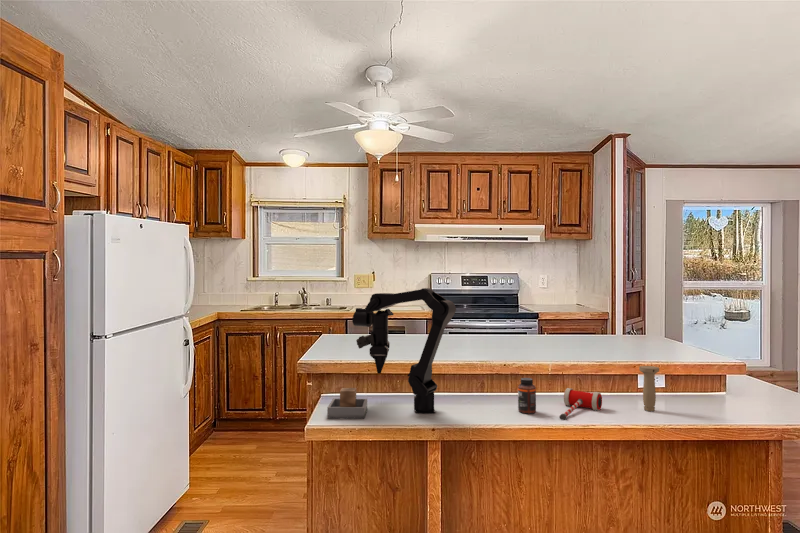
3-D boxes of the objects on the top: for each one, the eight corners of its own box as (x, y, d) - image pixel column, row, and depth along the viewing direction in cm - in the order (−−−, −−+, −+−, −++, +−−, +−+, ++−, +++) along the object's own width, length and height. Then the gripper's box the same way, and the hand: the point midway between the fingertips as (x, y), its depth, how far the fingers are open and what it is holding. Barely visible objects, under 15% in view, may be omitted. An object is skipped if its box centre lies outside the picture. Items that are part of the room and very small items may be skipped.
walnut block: (356, 408, 170) (356, 387, 170) (354, 412, 165) (354, 391, 165) (341, 408, 170) (341, 387, 170) (339, 412, 165) (339, 391, 165)
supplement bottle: (537, 410, 171) (537, 378, 171) (533, 415, 166) (533, 381, 166) (520, 408, 174) (520, 376, 174) (516, 412, 169) (516, 379, 169)
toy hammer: (580, 424, 157) (580, 403, 157) (544, 417, 165) (544, 398, 165) (602, 409, 175) (602, 391, 175) (569, 403, 182) (569, 386, 182)
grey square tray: (367, 408, 173) (367, 398, 173) (364, 418, 161) (364, 407, 161) (333, 408, 173) (333, 398, 173) (327, 418, 161) (327, 407, 161)
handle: (636, 409, 174) (636, 366, 174) (653, 408, 175) (652, 365, 175) (645, 412, 169) (645, 368, 169) (662, 412, 170) (662, 368, 170)
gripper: (360, 325, 189) (360, 366, 189) (355, 330, 170) (354, 376, 170) (389, 325, 189) (389, 366, 188) (387, 330, 170) (387, 376, 170)
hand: (379, 371), depth 179 cm, fingers open, 9 cm apart
